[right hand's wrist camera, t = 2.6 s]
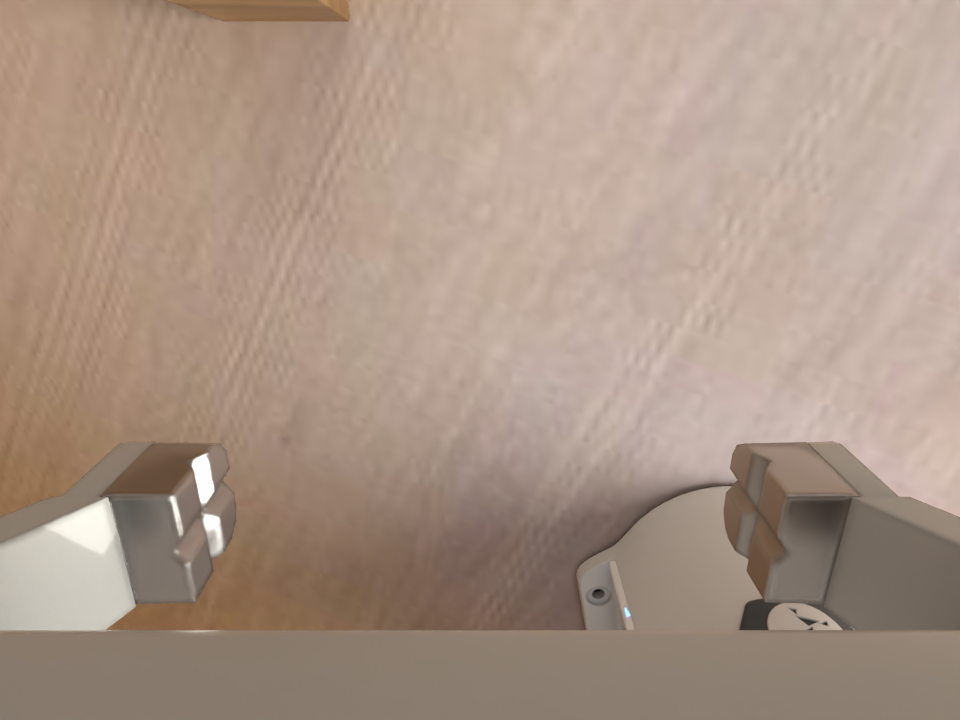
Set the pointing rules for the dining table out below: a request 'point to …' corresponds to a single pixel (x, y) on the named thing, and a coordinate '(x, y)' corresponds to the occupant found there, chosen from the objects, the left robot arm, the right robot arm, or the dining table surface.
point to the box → (270, 9)
